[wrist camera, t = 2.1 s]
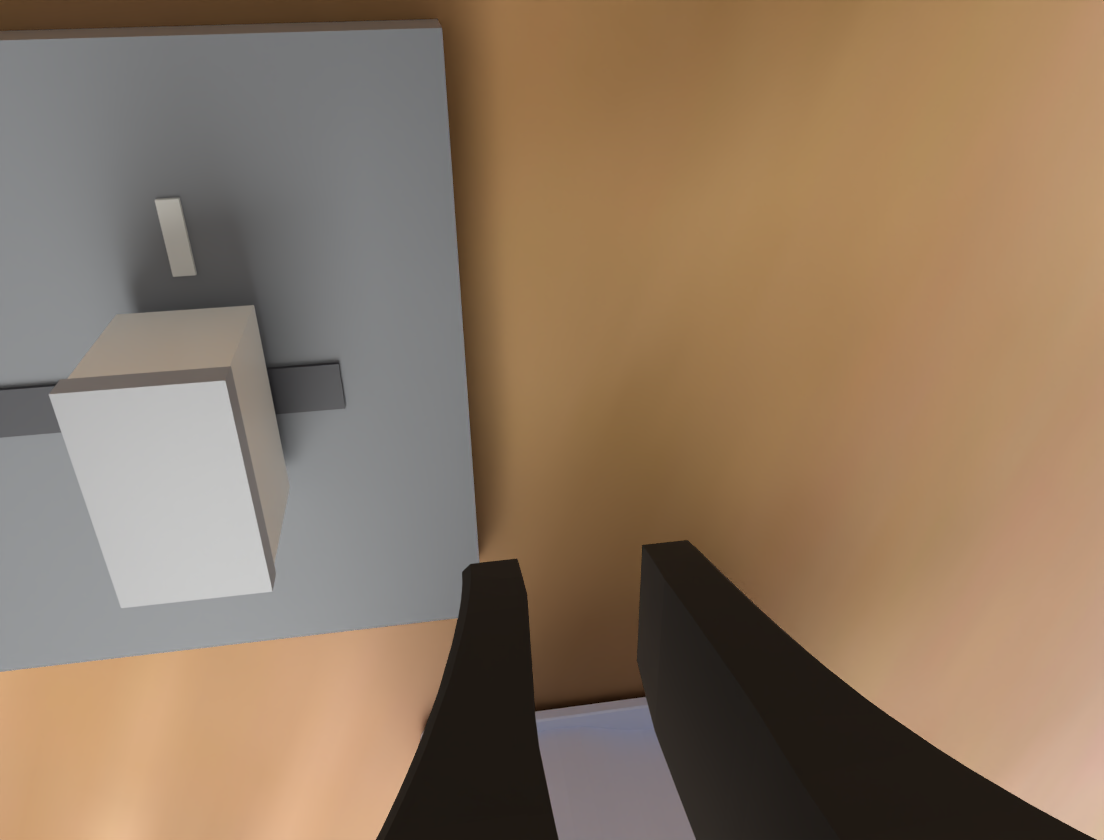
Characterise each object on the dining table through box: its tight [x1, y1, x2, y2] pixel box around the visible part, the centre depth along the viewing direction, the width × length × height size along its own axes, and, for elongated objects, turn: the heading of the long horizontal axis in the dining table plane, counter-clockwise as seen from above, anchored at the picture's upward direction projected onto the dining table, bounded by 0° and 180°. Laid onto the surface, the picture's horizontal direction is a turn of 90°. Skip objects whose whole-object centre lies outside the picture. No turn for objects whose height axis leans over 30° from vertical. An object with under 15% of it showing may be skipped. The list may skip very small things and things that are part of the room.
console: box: [0, 19, 479, 672], centre depth 17 cm, size 18×13×2 cm
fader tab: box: [49, 305, 290, 608], centre depth 15 cm, size 2×4×3 cm, turn 1°
